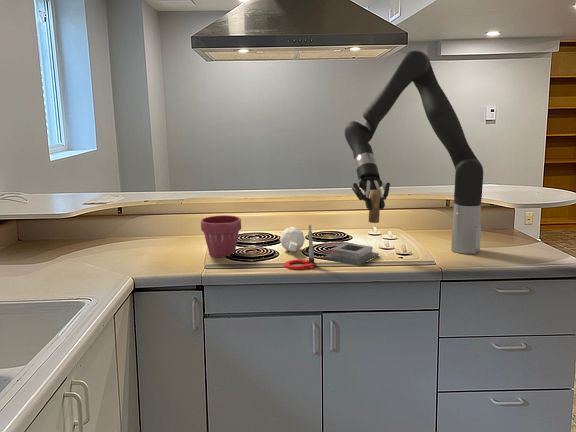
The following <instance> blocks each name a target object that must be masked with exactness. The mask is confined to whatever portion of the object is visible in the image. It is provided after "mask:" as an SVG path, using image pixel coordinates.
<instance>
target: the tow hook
mask: <svg viewBox="0 0 576 432" xmlns="http://www.w3.org/2000/svg"><path fill="white" fill-rule="evenodd" d="M307 235H308V259H290V260H287V261H285V262H284V263H283V264H284V265H283V266H284V268H285V269H288V270H304V269H310V270H313V269H314V268H315V253H314V244H313V243H314V241H313V231H312V225H311V224H309V225H308V233H307ZM293 263H294V264H300V265H293ZM301 264H302V265H301Z"/></svg>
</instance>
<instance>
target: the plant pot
mask: <svg viewBox="0 0 576 432" xmlns="http://www.w3.org/2000/svg"><path fill="white" fill-rule="evenodd" d="M241 220H242V219H241V217H239V216H236V215H226V214H225V215H212V216H208V217H207V216H206V217H204V218H202V219H200V230H201V232H203V235H204V238H205V243H206V248H207V250H208V254H209V256H210V255H211V257H213V256H214V257H213V258H226V256H228V255H231V254H233V253H235V254H236V249H237V245H238V238H239V232H240V230H241V229H242V221H241ZM228 257H229V256H228Z"/></svg>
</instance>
